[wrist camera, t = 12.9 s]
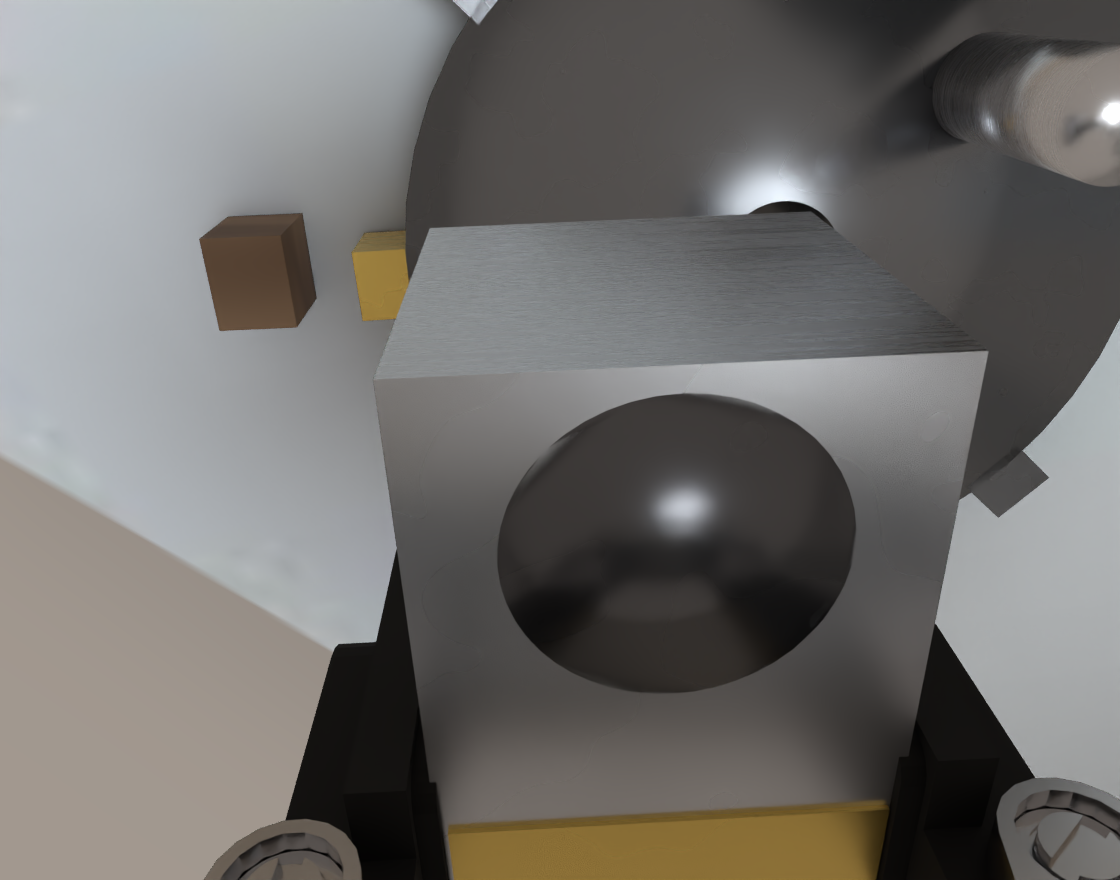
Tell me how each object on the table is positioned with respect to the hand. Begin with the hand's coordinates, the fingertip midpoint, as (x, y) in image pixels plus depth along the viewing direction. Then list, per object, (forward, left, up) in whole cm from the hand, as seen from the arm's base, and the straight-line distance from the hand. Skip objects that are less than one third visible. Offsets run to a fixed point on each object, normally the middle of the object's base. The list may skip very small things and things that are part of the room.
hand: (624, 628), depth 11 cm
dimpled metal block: (0, 0, 0) cm, 0 cm away
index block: (+1, +8, -16) cm, 18 cm away
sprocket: (+1, -5, -16) cm, 17 cm away
